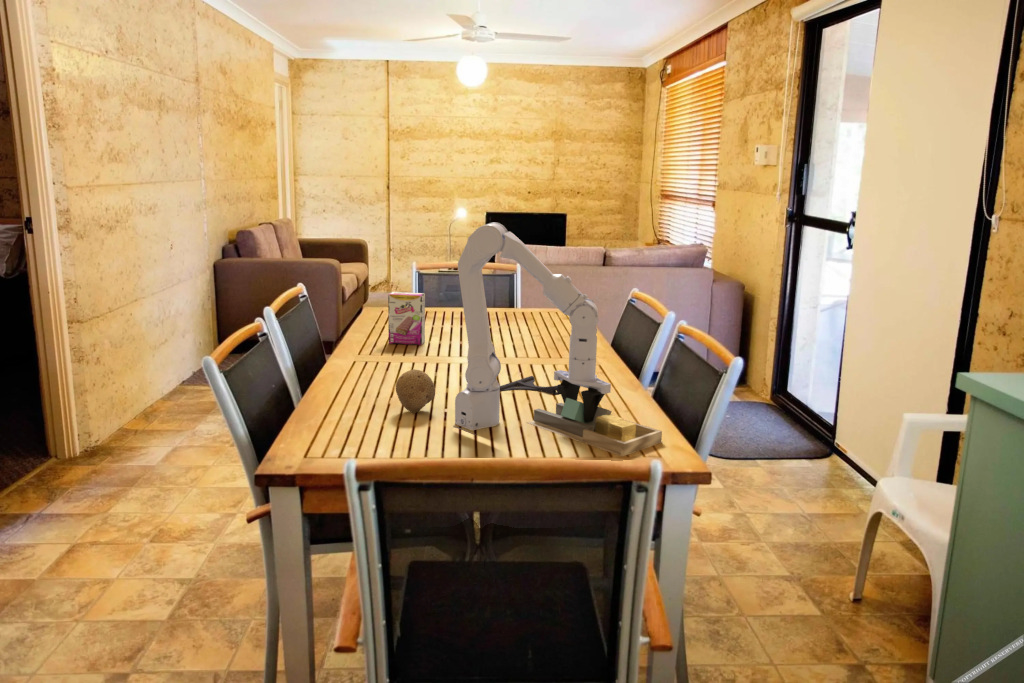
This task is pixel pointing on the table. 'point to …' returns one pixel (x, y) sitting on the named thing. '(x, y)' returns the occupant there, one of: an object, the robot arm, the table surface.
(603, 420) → the golden brown cube
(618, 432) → the yellow cube
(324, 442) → the table surface
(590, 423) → the two-tone l-shaped block
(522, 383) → the bracket
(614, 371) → the table surface
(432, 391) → the natural sponge
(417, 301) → the candy bar box
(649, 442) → the slot board
